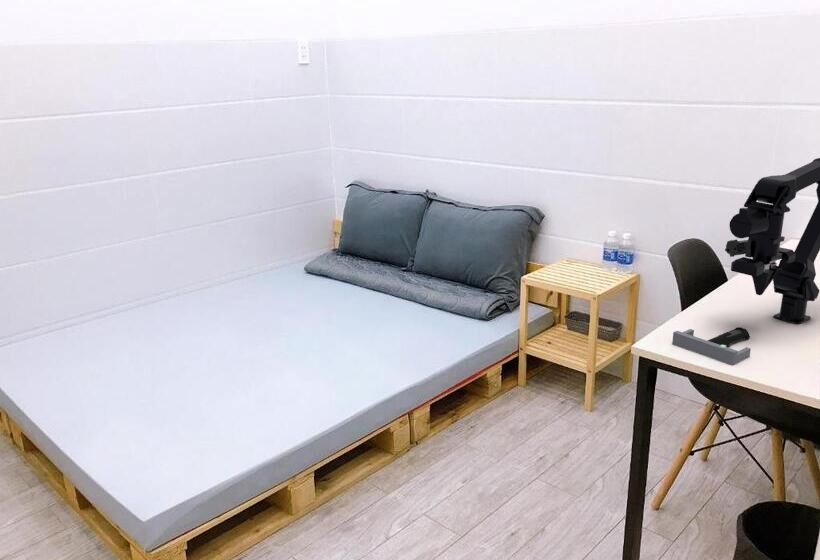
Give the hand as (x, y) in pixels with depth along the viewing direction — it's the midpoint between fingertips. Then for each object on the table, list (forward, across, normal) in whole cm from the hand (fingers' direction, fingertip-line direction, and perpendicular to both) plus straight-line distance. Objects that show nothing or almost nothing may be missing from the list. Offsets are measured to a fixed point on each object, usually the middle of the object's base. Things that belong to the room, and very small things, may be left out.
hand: (759, 294), depth 164 cm
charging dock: (+9, +19, 0) cm, 21 cm away
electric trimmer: (+10, +13, 0) cm, 16 cm away
